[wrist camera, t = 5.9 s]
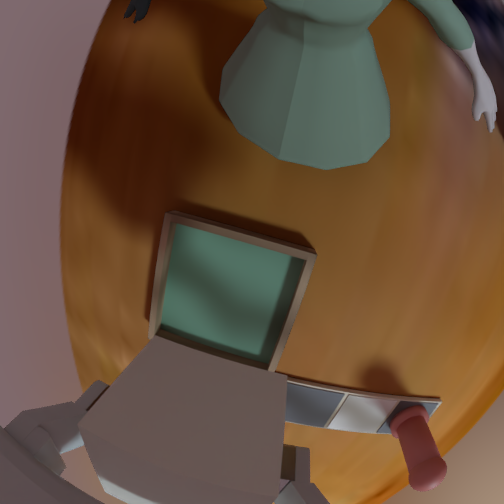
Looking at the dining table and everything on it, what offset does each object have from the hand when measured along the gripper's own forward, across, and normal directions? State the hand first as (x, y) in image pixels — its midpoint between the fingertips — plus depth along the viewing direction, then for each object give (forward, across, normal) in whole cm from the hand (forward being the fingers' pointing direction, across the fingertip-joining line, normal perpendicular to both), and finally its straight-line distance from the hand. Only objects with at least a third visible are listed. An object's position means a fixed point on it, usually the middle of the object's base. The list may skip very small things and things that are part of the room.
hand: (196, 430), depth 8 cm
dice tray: (+12, +2, 0) cm, 12 cm away
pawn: (+11, -18, +8) cm, 23 cm away
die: (+2, 0, 0) cm, 2 cm away
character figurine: (+12, 0, -14) cm, 19 cm away
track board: (+12, -7, +8) cm, 16 cm away
